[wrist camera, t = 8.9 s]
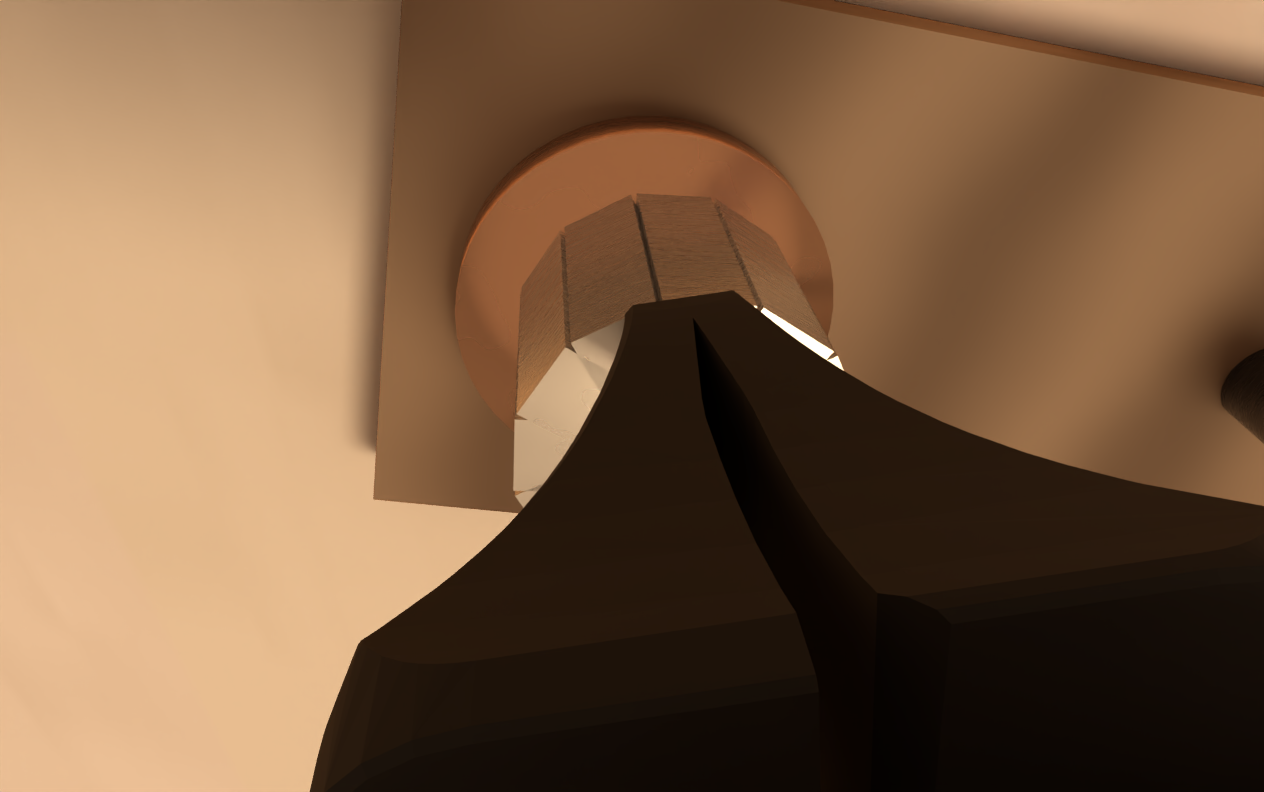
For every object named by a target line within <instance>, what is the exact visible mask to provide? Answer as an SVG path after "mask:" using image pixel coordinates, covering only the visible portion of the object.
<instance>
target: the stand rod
mask: <svg viewBox="0 0 1264 792" xmlns="http://www.w3.org/2000/svg"><path fill="white" fill-rule="evenodd" d="M1220 397H1221V403H1222V406H1223V407H1224V409H1225V410H1226V411H1227V412H1228V413H1229V414H1230V415H1231V416H1233V417H1234V418H1235V419H1236V420H1237V421H1238V422H1239V423H1241V424H1242V425H1243V426H1244V427H1245V428H1246V429H1247V430H1248V431H1250V432H1251V433H1252V434H1253V435H1254V436H1255V437H1256V438H1258V439H1259V440H1260V441H1261V442H1262V443H1263V444H1264V349H1262V350H1259V351H1257V352H1255V353H1253V354H1251V355H1249V356H1248V357H1246V358H1245V359H1243V360H1242V361H1241V362H1240V363H1238V364H1237V365H1236V366H1235V367H1234V368H1233V370H1232V371H1231V372H1230V373H1229V375H1228V376H1227V378H1226V379H1225V381H1224V383H1223V386H1222V389H1221V395H1220Z"/></svg>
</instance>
